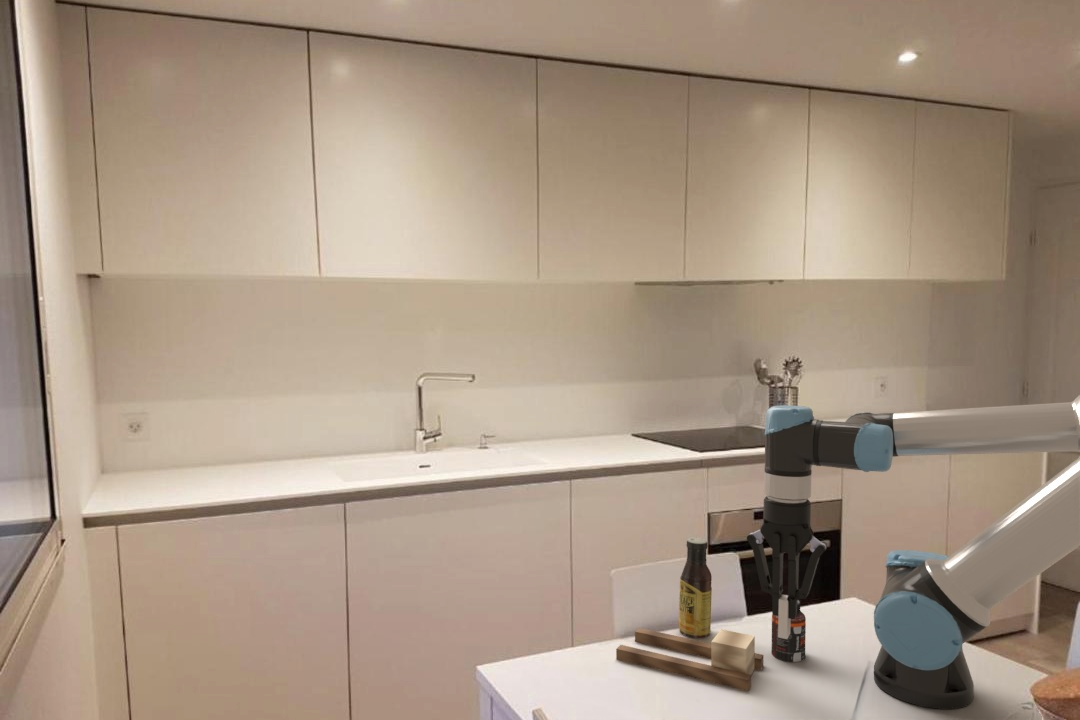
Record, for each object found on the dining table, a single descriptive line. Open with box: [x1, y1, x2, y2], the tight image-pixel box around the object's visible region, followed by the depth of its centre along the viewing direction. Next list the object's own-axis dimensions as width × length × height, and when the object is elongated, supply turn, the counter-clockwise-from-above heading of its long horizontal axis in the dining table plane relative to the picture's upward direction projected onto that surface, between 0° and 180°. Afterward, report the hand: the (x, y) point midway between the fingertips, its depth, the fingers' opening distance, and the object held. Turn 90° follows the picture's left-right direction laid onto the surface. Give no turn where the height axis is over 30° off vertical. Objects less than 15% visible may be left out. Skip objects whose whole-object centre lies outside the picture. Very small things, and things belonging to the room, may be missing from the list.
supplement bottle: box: [771, 599, 807, 663], centre depth 134 cm, size 6×6×11 cm
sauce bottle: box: [678, 536, 713, 639], centre depth 144 cm, size 7×6×20 cm
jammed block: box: [710, 628, 756, 676], centre depth 127 cm, size 6×6×6 cm
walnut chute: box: [615, 627, 764, 692], centre depth 131 cm, size 24×12×3 cm, turn 60°
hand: (784, 635), depth 123 cm, fingers closed
